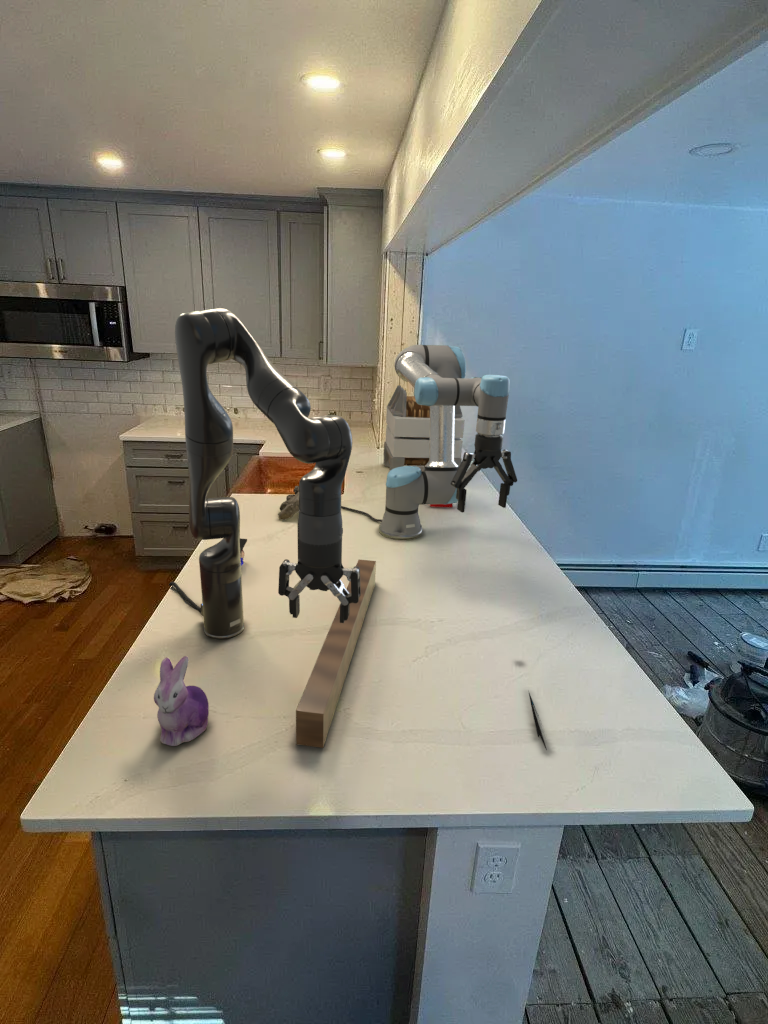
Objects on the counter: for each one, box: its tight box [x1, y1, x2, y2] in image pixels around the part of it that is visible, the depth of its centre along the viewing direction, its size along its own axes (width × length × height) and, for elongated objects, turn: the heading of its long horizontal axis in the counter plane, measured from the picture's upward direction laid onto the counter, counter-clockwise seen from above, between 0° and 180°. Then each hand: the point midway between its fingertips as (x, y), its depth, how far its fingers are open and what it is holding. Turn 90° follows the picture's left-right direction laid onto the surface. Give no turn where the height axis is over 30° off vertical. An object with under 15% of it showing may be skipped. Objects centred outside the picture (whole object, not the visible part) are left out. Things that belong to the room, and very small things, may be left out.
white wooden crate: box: [383, 384, 465, 471], centre depth 268 cm, size 34×33×41 cm
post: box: [295, 559, 377, 749], centre depth 131 cm, size 65×5×8 cm, turn 173°
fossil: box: [277, 485, 299, 521], centre depth 215 cm, size 22×10×15 cm
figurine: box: [153, 655, 210, 747], centre depth 102 cm, size 9×10×15 cm
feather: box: [528, 689, 548, 751], centre depth 116 cm, size 2×28×2 cm
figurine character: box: [240, 537, 248, 567], centre depth 166 cm, size 7×8×15 cm
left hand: (319, 618), depth 101 cm, fingers open, 8 cm apart
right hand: (481, 508), depth 160 cm, fingers open, 13 cm apart
